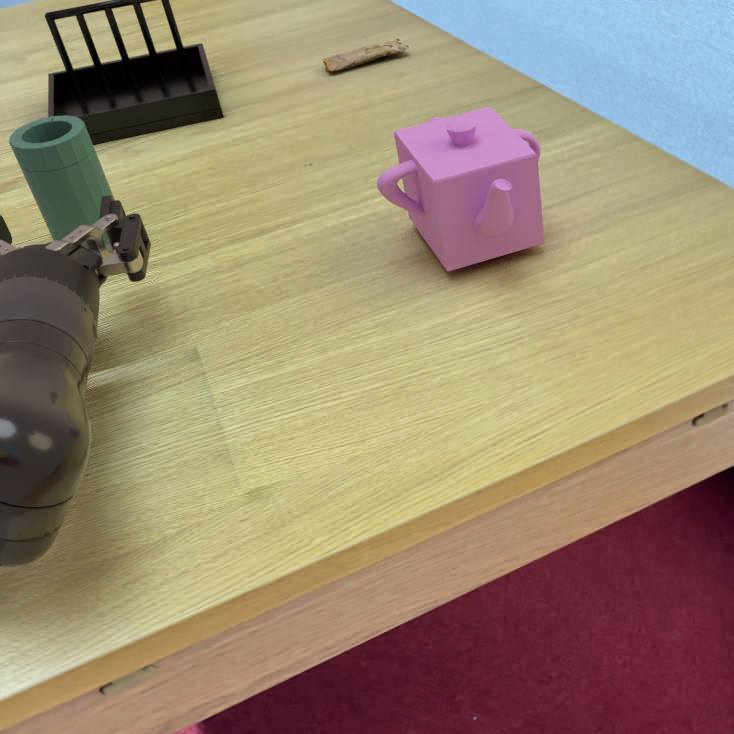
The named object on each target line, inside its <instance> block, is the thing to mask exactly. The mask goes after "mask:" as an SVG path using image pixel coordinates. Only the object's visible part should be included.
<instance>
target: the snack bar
mask: <svg viewBox="0 0 734 734" xmlns="http://www.w3.org/2000/svg"><path fill="white" fill-rule="evenodd" d="M409 48H410V46H408V45H407V44H404V43H402V42H401V40H400V38H396V39H395V40H387V41H386V40H385V41H381V42H376V43H372V44H369V45H365V46H361V47H358V48H354V49H351V50H347V51H344V52H341V53H337V54H333V55H330V56H327V57H324V58H321V61H322V63H323V64H324V66H325V68H326V69H327V71H328V72H337V71H342V70H346V69H350V68H354V67H356V66H359V65H362V64H366V63H370V62H372V61H375V60H377V59H380V58H383V57H387V56H393V55H396V54H398V53H403V52H405V51H407V50H408V49H409Z"/></svg>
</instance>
